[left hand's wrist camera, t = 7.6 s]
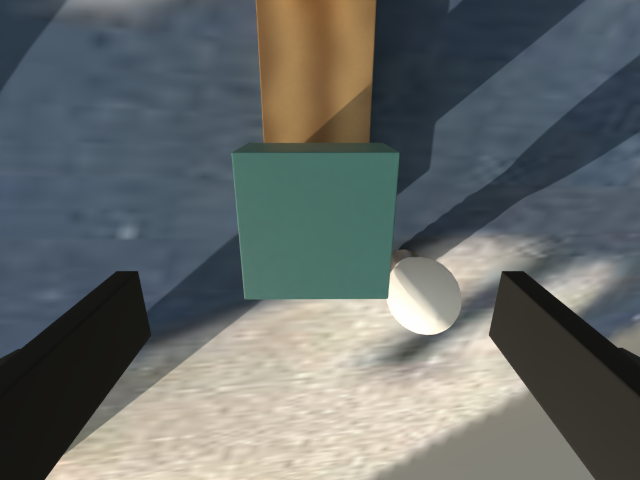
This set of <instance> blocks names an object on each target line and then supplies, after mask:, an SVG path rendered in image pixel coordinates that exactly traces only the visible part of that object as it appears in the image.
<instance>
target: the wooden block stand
mask: <svg viewBox="0 0 640 480" xmlns="http://www.w3.org/2000/svg"><path fill="white" fill-rule="evenodd" d="M376 2H377V0H256V12H257V29H258V47H259V65H260V83H261V101H262V118H263V136H264V143H370V123H371V103H372V83H373V63H374V43H375V23H376Z"/></svg>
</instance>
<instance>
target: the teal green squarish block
mask: <svg viewBox="0 0 640 480" xmlns="http://www.w3.org/2000/svg"><path fill="white" fill-rule="evenodd" d="M399 159H400V152H398V151H397V150H395V149H393V148H391V147H390V146H388V145H386V144H384V143H248V144H246V145H244V146H243V147H241V148H239V149H237V150H235V151H234V152H232V163H233V174H234V186H235V197H236V208H237V219H238V230H239V241H240V253H241V264H242V275H243V286H244V297H245V299H388V295H389V283H390V270H391V258H392V246H393V233H394V221H395V209H396V196H397V184H398V172H399Z"/></svg>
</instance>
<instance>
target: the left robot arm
mask: <svg viewBox="0 0 640 480" xmlns="http://www.w3.org/2000/svg"><path fill="white" fill-rule="evenodd" d="M150 336H151V332H150V327H149V322H148V318H147V313H146V308H145V303H144V298H143V294H142V289H141V284H140V279H139V274H138V271H116V272H115V273H114V274H113V275H111V276H110V277H109V278H108V279H106V280H105V281H104V282H103V283H102V284H100V285H99V286H98V287H97V288H95V289H94V290H93V291H92V292H90V293H89V294H88V295H87V296H86V297H84V298H83V299H82V300H81V301H79V302H78V303H77V304H76V305H74V306H73V307H72V308H71V309H70V310H68V311H67V312H66V313H65V314H63V315H62V316H61V317H60V318H58V319H57V320H56V321H55V322H54V323H52V324H51V325H50V326H49V327H47V328H46V329H45V330H44V331H42V332H41V333H40V334H39V335H38V336H36V337H35V338H34V339H33V340H31V341H30V342H29V343H28V344H26V345H25V346H24V347H23V348H22V349H17V350H15V351H14V352H12V353H10V354H8V355H6V356H4V357H2V358H1V359H0V480H45V479H46V477H47V476H48V475H49V473H50V472H51V470H52V469H53V468H54V466H55V465H56V464H57V462H58V461H59V460H60V458H61V457H62V456H63V454H64V453H65V451H66V450H67V449H68V447H69V446H70V445H71V443H72V442H73V441H74V439H75V438H76V437H77V435H78V434H79V432H80V431H81V430H82V428H83V427H84V426H85V424H86V423H87V422H88V420H89V419H90V418H91V416H92V415H93V413H94V412H95V411H96V409H97V408H98V407H99V405H100V404H101V403H102V401H103V400H104V399H105V397H106V396H107V394H108V393H109V392H110V390H111V389H112V388H113V386H114V385H115V384H116V382H117V381H118V380H119V378H120V377H121V375H122V374H123V373H124V371H125V370H126V369H127V367H128V366H129V365H130V363H131V362H132V361H133V359H134V358H135V356H136V355H137V354H138V352H139V351H140V350H141V348H142V347H143V346H144V344H145V343H146V342H147V340H148V339H149V337H150ZM489 336H490V337H491V339H492V340H493V342H494V343H495V344H496V346H497V347H498V348H499V350H500V351H501V352H502V354H503V355H504V356H505V358H506V359H507V361H508V362H509V363H510V365H511V366H512V367H513V369H514V370H515V371H516V373H517V374H518V375H519V377H520V378H521V380H522V381H523V382H524V384H525V385H526V386H527V388H528V389H529V390H530V392H531V393H532V394H533V396H534V397H535V399H536V400H537V401H538V402H539V404H540V405H541V407H542V408H543V409H544V411H545V412H546V413H547V415H548V416H549V418H550V419H551V420H552V422H553V423H554V424H555V426H556V427H557V428H558V430H559V431H560V432H561V434H562V435H563V436H564V438H565V439H566V441H567V442H568V443H569V445H570V446H571V447H572V449H573V450H574V451H575V453H576V454H577V455H578V457H579V458H580V460H581V461H582V462H583V464H584V465H585V466H586V468H587V469H588V470H589V472H590V473H591V475H592V476H593V477H594V479H595V480H640V357H638V356H637V355H635V354H633V353H631V352H629V351H627V350H625V349H624V348H617V347H616V346H615V345H614V344H612V343H611V342H610V341H609V340H607V339H606V338H605V337H604V336H602V335H601V334H600V333H599V332H598V331H596V330H595V329H594V328H593V327H591V326H590V325H589V324H588V323H586V322H585V321H584V320H583V319H582V318H580V317H579V316H578V315H577V314H575V313H574V312H573V311H572V310H570V309H569V308H568V307H567V306H566V305H564V304H563V303H562V302H561V301H559V300H558V299H557V298H556V297H554V296H553V295H552V294H551V293H550V292H548V291H547V290H546V289H545V288H543V287H542V286H541V285H540V284H538V283H537V282H536V281H535V280H534V279H532V278H531V277H530V276H529V275H527V274H526V273H525V272H524V271H502V274H501V279H500V284H499V289H498V294H497V298H496V303H495V308H494V313H493V318H492V322H491V327H490V332H489Z"/></svg>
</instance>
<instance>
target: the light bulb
mask: <svg viewBox="0 0 640 480" xmlns="http://www.w3.org/2000/svg"><path fill="white" fill-rule="evenodd" d="M387 303H388V306H389V308H390V310H391V312H392V314H393V316H394V317H395V318H396V319H397V321H398V322H399V323H400V324H402V325H403V326H404V327H406V328H407V329H409V330H411V331H413V332H416V333H419V334H426V335H431V334H437V333H440V332H443V331H444V330H446V329H448V328H449V327H450V326H451V325H452V324H453V323H454V322H455V320H456V319H457V317H458V315H459V312H460V309H461V292H460V288H459V285H458V283H457V281H456V279H455V278H454V276H453V275H452V273H451V272H450V271H449V270H448V269H447V268H446V267H445V266H444V265H442V264H440V263H439V262H437V261H435V260H432V259H430V258H424V257H418V256H417V255H416V254H415V253H414V252H412V251H410V250H398V251H395V252H394V253H392V258H391V270H390V283H389V295H388V299H387Z"/></svg>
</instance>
